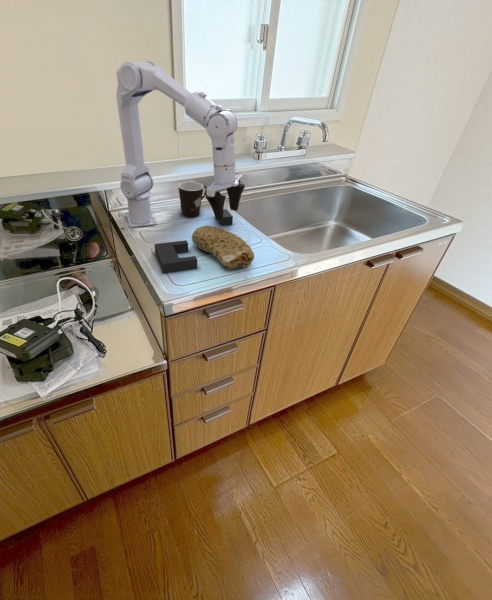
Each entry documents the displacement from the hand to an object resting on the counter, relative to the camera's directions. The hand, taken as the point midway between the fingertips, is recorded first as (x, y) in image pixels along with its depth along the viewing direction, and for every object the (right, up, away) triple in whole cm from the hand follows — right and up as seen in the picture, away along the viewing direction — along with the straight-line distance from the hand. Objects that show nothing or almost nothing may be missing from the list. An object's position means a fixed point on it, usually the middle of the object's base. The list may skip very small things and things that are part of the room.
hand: (226, 214), depth 91 cm
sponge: (-2, -11, +2) cm, 12 cm away
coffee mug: (-10, +7, +24) cm, 27 cm away
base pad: (-15, -13, -2) cm, 20 cm away
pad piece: (0, +3, +20) cm, 20 cm away
